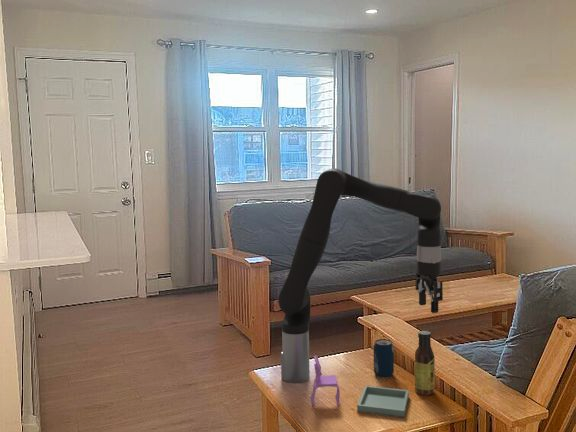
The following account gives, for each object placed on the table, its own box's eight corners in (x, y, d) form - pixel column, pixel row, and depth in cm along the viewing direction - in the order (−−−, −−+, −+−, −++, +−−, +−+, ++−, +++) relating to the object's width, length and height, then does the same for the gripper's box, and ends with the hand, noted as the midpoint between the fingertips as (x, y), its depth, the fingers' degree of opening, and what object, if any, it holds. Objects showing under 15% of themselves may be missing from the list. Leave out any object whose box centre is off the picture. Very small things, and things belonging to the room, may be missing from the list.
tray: (357, 412, 165) (357, 405, 164) (365, 391, 178) (365, 385, 178) (404, 417, 160) (404, 410, 160) (408, 396, 174) (408, 390, 173)
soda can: (396, 373, 192) (396, 340, 190) (389, 380, 186) (389, 346, 184) (378, 369, 196) (378, 337, 194) (370, 376, 190) (370, 343, 188)
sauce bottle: (435, 396, 173) (435, 336, 171) (414, 395, 174) (415, 336, 172) (433, 387, 180) (434, 329, 177) (414, 386, 181) (414, 329, 178)
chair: (340, 407, 168) (339, 361, 166) (312, 408, 168) (311, 362, 166) (337, 395, 176) (336, 351, 174) (310, 396, 176) (309, 351, 174)
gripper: (408, 255, 178) (408, 303, 180) (428, 264, 164) (427, 316, 167) (429, 254, 180) (429, 301, 182) (450, 263, 166) (450, 314, 168)
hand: (428, 308), depth 174 cm, fingers open, 8 cm apart
